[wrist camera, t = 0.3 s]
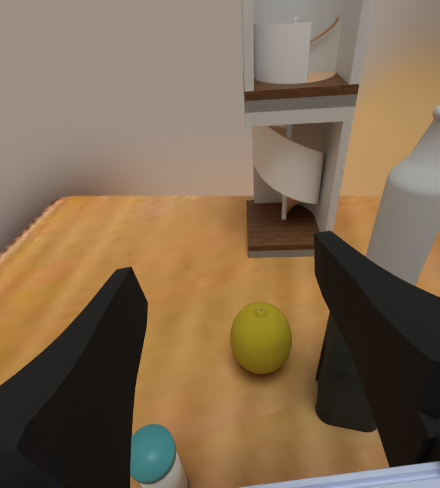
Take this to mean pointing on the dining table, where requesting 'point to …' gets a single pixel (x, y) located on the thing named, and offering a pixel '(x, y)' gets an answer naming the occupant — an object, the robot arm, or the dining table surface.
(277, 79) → the white tiered tower model
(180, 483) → the marker
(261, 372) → the lemon
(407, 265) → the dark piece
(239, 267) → the dining table surface
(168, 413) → the dining table surface
